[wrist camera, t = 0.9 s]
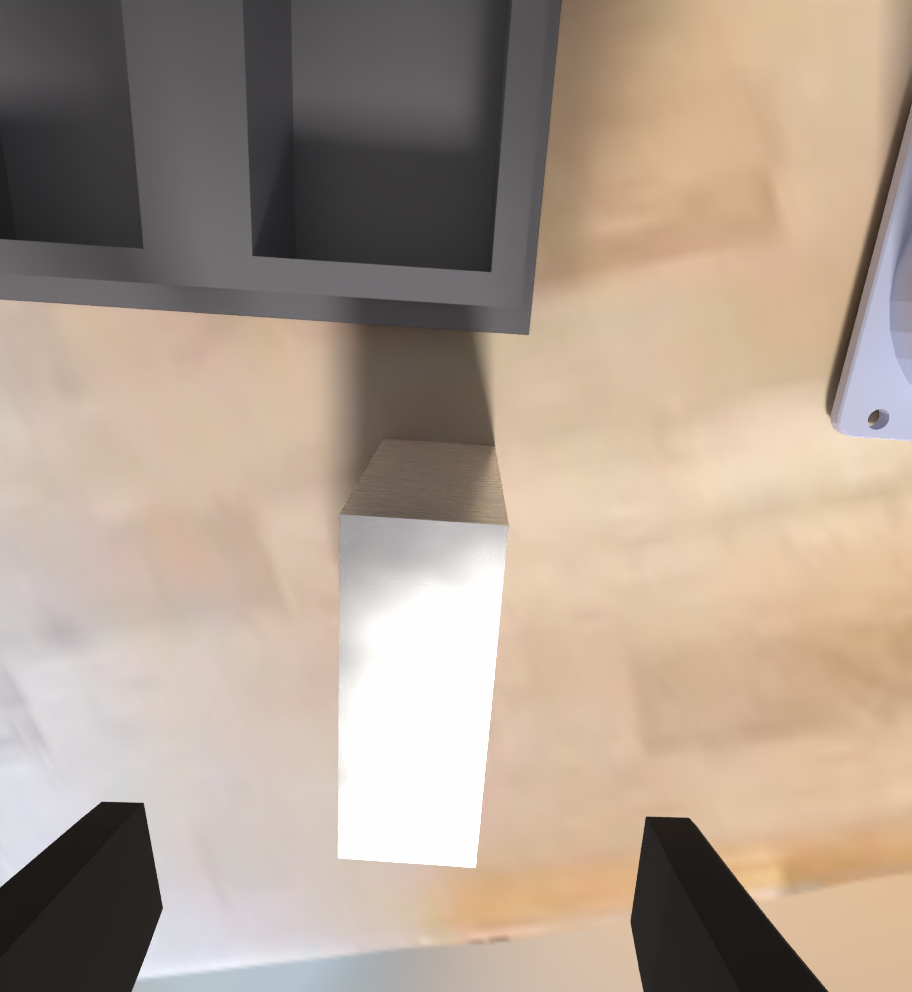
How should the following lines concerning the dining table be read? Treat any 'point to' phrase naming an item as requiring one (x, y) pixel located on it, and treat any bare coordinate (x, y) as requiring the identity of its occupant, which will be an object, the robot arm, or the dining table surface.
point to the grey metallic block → (418, 650)
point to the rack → (277, 157)
